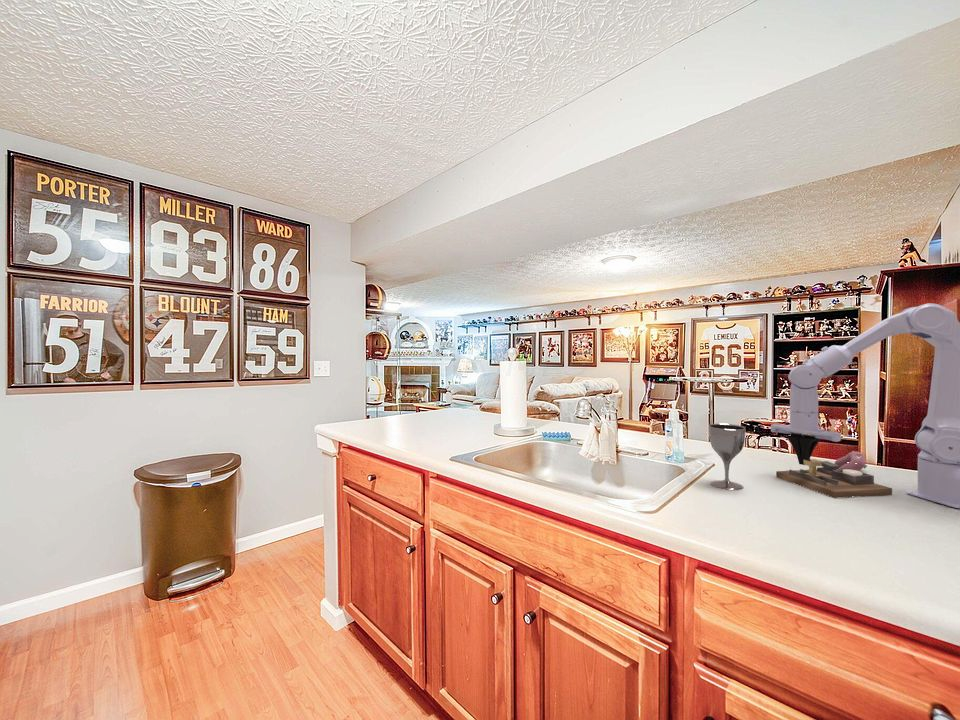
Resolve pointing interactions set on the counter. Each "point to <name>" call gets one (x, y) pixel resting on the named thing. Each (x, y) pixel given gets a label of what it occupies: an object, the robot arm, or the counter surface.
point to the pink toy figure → (852, 461)
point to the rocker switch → (829, 465)
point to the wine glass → (727, 449)
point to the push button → (852, 472)
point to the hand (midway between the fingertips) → (803, 464)
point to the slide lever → (813, 467)
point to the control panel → (836, 482)
